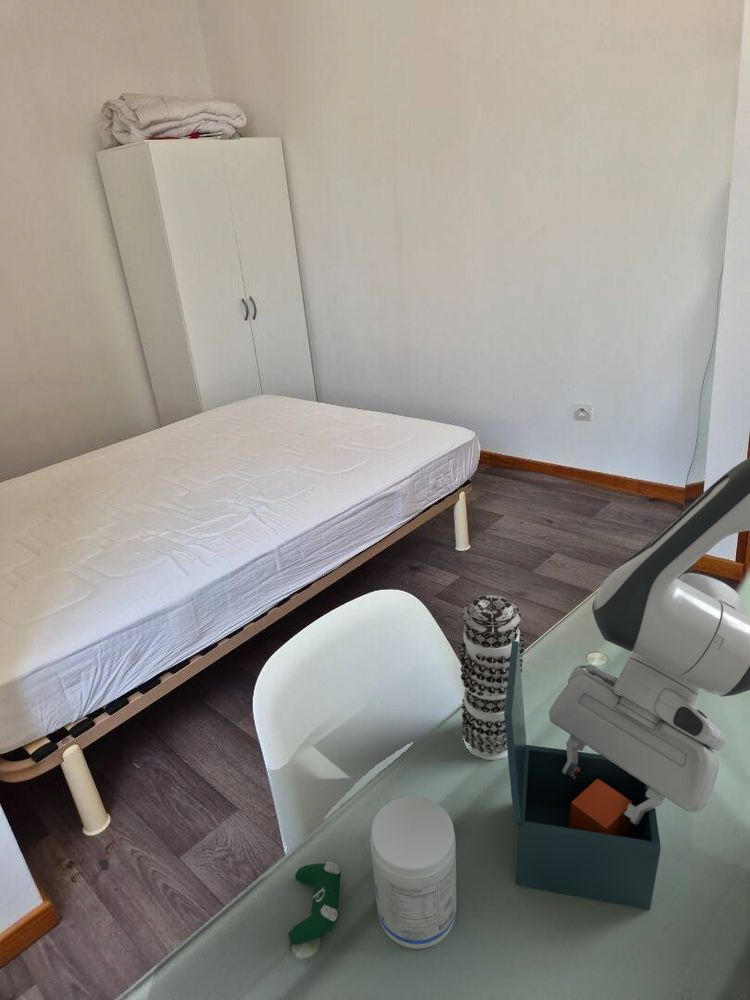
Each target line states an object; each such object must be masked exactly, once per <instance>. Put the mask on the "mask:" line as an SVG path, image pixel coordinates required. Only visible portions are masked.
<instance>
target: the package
mask: <svg viewBox="0 0 750 1000" xmlns="http://www.w3.org/2000/svg"><path fill="white" fill-rule="evenodd" d="M629 803H632V804H633V802H631V801H630V800H629V799H627V798H626V797H624V796H623V795H621V794H620V793H618V792H617V791H616V790H614V789H613V788H611V787H610V786H608V785H607V784H605V783H604V782H602V781H601V780H600V779H598V778H597V779H596V780H595V781H594V782H593V783H592V784H591V785H590V786H589V787H588V788H586V789H585V790H584V791H583V792H582V793H581V794H580V795H579V796H578V797H577V798H576V799H574V800H573V801H572V802H571V811H570V822H569V828H571V829H578V830H584V831H590V832H596V833H603V834H609V835H615V836H621V837H628V832H629V825H630V821H629V820H628V819H626V818H625V817H624V816H623V814H624V812H625V811H627V806H628V804H629Z"/></svg>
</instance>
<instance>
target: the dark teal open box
mask: <svg viewBox="0 0 750 1000" xmlns="http://www.w3.org/2000/svg"><path fill="white" fill-rule="evenodd" d="M567 761H568V760H567V749H562V748H555V747H547V746H538V745H531V744H526V754H525V769H524V784H523V800H522V815H521V823H518V822H517V823H516V825H517V829H516V852H515V853H516V854H515V855H516V856H515V877H514V878H515V882H514V885H515V886H517V887H523V888H528V889H534V890H539V891H543V892H550V893H555V894H560V895H566V896H572V897H577V898H583V899H587V900H593V901H600V902H605V903H608V904H609V903H610V904H616V905H620V906H625V907H632V908H637V909H643V910H648V911H650V910H651V907H652V902H653V901H652V900H653V895H654V889H655V883H656V879H657V873H658V866H659V861H660V857H661V850H662V847H661V839H660V832H659V825H658V818H657V810H656V808H654V809H652V810H650V811H648V812H645V813H644V815H643V817H642V819H641V821H640V823H639V824H638V825H635V824H633V823H632V822H630V825H629V832H628V837H621V836H615V835H609V834H603V833H596V832H590V831H584V830H578V829H571V828H569V822H570V811H571V802H572V801H573V800H574V799H576V798H577V797H578V796H579V795H580V794H581V793H582V792H583V791H584V790H585V789H586V788H588V787H589V786H590V785H591V784H592V783H593V782H594V781H595V780H596V779H597V778H598V779H600V780H601V781H602V782H604V783H605V784H607V785H608V786H610V787H611V788H613V789H614V790H616V791H617V792H618V793H620V794H621V795H623V796H624V797H626V798H627V799H629V800H630V801H631V802H633V804H635V805H636V806H638V805H639V804H641V803H643V802H645V801H646V800H648V799H650V798H648V797H647V796H646V795H645V794H646V792H647V790H648V788H649V786H648V785H646V784H645V783H643V782H641V781H640V780H638V779H637V778H635V777H634V776H632V775H631V774H629V773H628V772H626V771H625V770H623V769H622V768H620V767H619V766H617V765H616V764H614V763H613V762H611V761H610V760H608V759H607V758H605V757H604V756H602V755H601V754H599V753H592V752H584V751H578V764H577V765H578V766H580V767H581V768H583V769H582V771H581V773H580V774H578V775H579V777H578V778H577V780H572V779H570V778H569V777H567V776H566V775H564V774H563V773H562V770H563V768H564V766H565V764H566V762H567Z"/></svg>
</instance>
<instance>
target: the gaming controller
mask: <svg viewBox="0 0 750 1000" xmlns="http://www.w3.org/2000/svg"><path fill="white" fill-rule="evenodd" d="M341 874H342V872H341V867H340V866H339V864H337V863H335V862H334V861H333V862H332V861H326V862H324V863H312V864H306V865H304V866H301V867H299V868H298V870H297V871H296V872H295V875H294V878H295V880H296V881H297V882H298V881H299V882H301V883H303V884H302V885H304V884H307V885H306V886H309V885H310V886H311V887H313V891H312V901H311V909H310V911H311V912H310V916H308V917H307V918H305V919H303V920H302V921H300V922H299V923H297V924H296V925H294V927H292V928H291V930H290V931H289V932H288V934H287V936H288V939H289V942H290V945H299V944H300V945H301V944H305V943H309V942H312V941H314V940H316V939H319V938H321V937H323V936H324V935H326V934H327V933H329V932H332V930H333V929H334V927H335V925H336V924H337V922H338V919H339V912H340V911H339V906H340V893H341V892H340V891H341V877H342V875H341ZM299 882H298V883H299ZM301 883H300V884H301Z"/></svg>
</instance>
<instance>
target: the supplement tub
mask: <svg viewBox="0 0 750 1000" xmlns="http://www.w3.org/2000/svg"><path fill="white" fill-rule="evenodd" d="M369 841H370V853H371V861H372V862H371V863H372V871H373V880H374V890H375V901H376V910H377V917H378V920H379V923H380V925H381V927H382V929H383V931H384V932H385V933H386V935H387V936H388V937H389V938H390V939H391V940H392V941H393V942H395V943H397V944H398V945H400V946H402V947H405V948H409V949H414V950H415V949H417V950H418V949H420V950H421V949H427V948H429V947H433V946H435V945H437V944H438V943H440V942H441V941H442V940H444V939H445V938H446V937H447V936H448V934H449V933H450V931H451V930H452V928H453V926H454V925H455V920H456V917H457V856H456V855H457V854H456V852H457V847H456V845H457V844H456V834H455V829H454V824H453V820H452V818H451V817H450V815H449V814H448V811H446V810H445V809H444V808H443V806H442V805H440V804H439V803H437V802H436V801H434V800H432V799H430V798H427V797H423V796H417V795H408V796H407V795H406V796H401V797H398V798H394V799H393V800H391V801H390V802H387V803H386V804H385V805H383V806H382V807H381V808H380V809H379V810H378V812H377V813H376V815H375V816H374V818H373V820H372V824H371V827H370V840H369Z"/></svg>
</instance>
